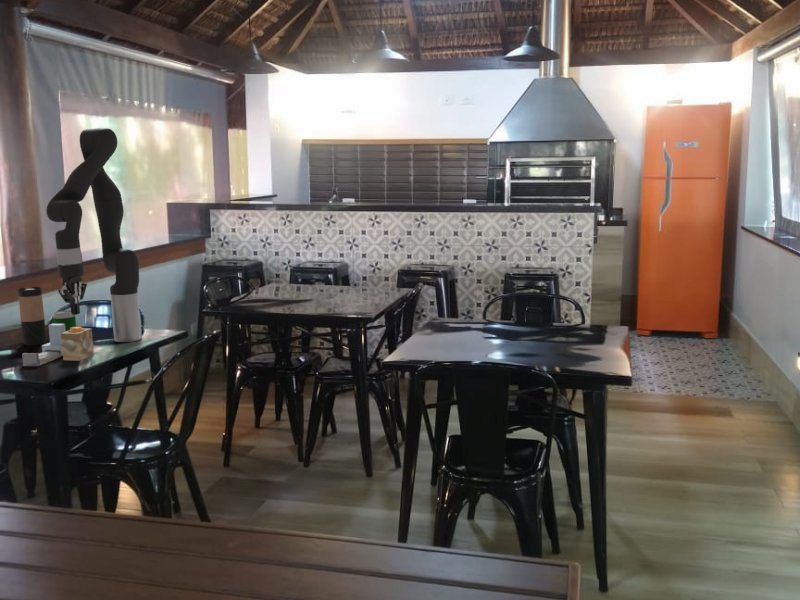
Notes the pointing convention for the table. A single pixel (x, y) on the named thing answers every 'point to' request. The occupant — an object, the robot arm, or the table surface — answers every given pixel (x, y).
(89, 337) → the open wooden box
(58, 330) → the carriage
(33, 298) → the travel mug
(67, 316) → the soda can
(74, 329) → the orange rounded piece
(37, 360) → the rail
